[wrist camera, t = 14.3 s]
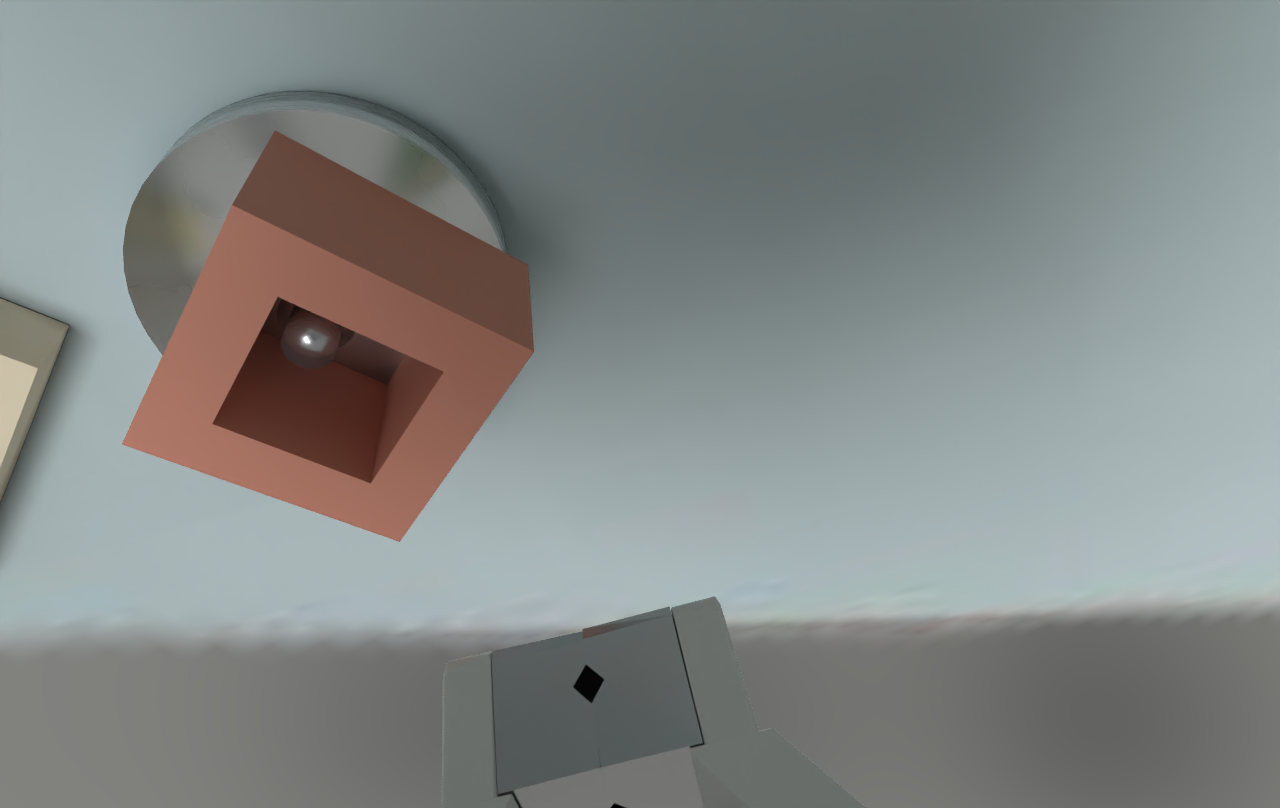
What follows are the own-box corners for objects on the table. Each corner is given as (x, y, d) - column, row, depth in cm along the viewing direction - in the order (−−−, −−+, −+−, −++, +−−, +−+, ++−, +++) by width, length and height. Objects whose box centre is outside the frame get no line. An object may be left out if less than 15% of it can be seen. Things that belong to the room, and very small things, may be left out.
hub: (95, 319, 23) (33, 408, 20) (221, 11, 19) (168, 61, 16) (414, 447, 27) (404, 539, 24) (571, 212, 23) (584, 284, 20)
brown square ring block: (175, 344, 22) (122, 444, 19) (274, 130, 19) (231, 204, 16) (411, 440, 25) (399, 542, 22) (527, 264, 22) (534, 351, 19)
